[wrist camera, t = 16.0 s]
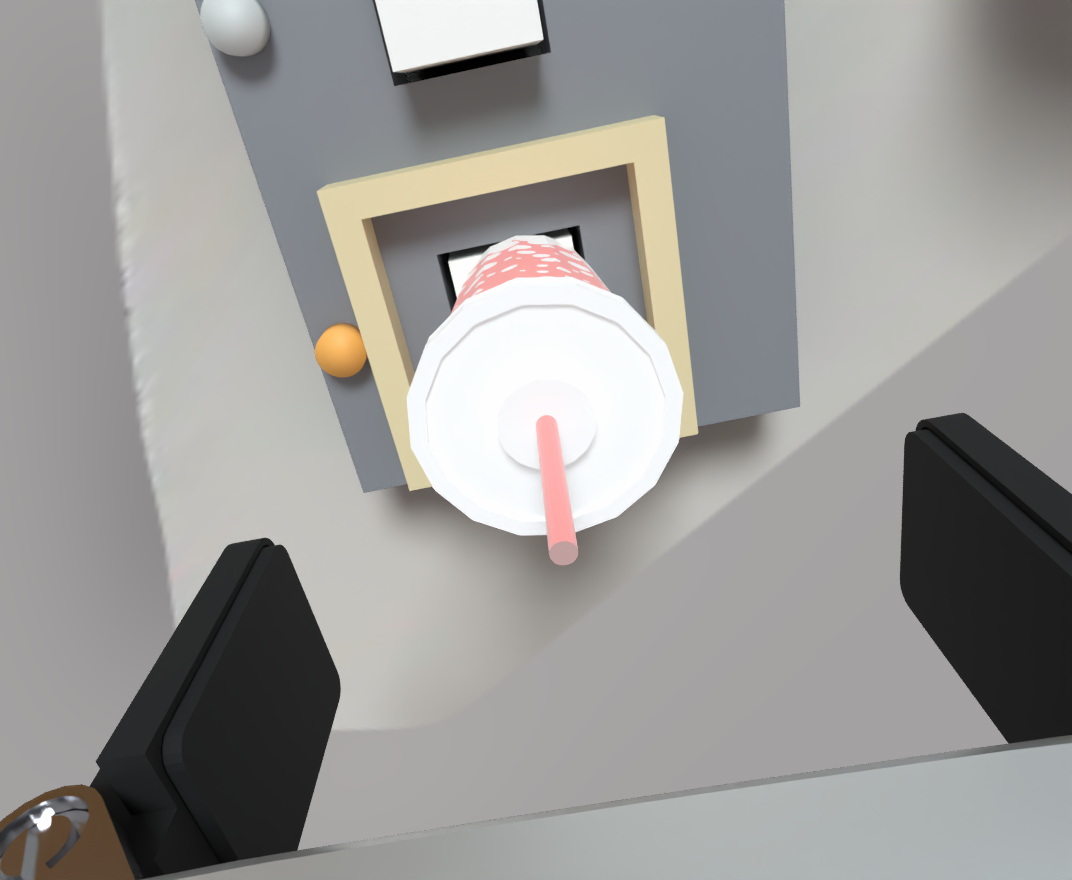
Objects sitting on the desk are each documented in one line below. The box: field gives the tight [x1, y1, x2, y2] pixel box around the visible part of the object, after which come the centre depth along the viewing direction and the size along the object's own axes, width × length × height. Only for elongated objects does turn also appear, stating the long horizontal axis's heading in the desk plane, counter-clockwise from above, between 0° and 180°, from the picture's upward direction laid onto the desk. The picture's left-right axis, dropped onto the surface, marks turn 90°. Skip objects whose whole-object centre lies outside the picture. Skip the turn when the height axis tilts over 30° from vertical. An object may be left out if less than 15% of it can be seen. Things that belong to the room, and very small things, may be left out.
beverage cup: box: [407, 235, 683, 565], centre depth 18 cm, size 6×6×14 cm
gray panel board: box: [195, 0, 800, 493], centre depth 24 cm, size 16×19×6 cm
